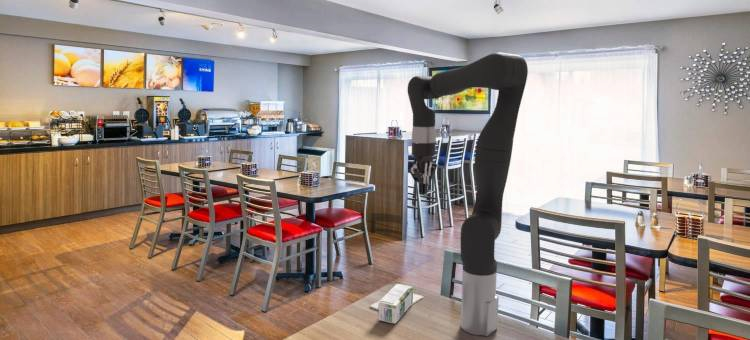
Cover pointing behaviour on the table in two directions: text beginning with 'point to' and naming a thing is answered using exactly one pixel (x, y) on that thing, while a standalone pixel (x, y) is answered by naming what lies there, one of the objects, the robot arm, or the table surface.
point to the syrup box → (395, 303)
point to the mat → (415, 299)
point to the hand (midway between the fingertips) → (422, 194)
